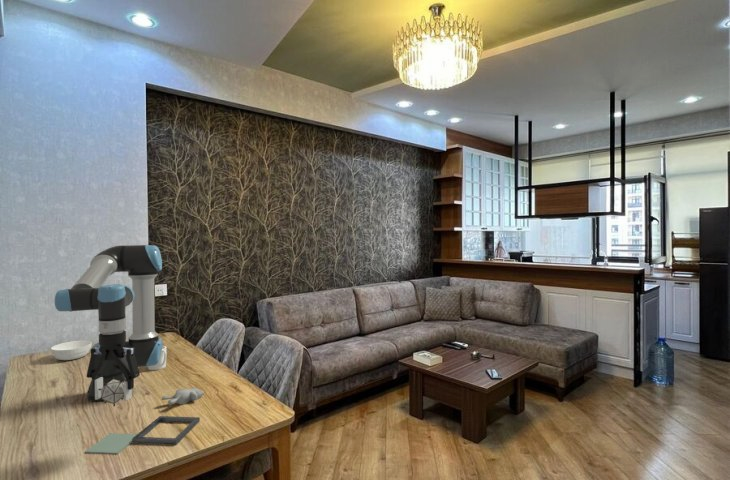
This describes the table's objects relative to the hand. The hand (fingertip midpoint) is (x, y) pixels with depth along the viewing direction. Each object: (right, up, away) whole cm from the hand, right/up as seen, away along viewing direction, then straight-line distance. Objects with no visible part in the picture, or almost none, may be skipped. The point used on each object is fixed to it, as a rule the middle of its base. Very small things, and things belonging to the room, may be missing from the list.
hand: (113, 398), depth 126 cm
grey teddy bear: (+9, -15, +31) cm, 36 cm away
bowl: (-80, -13, +85) cm, 118 cm away
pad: (0, -15, 0) cm, 15 cm away
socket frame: (+14, -15, +8) cm, 22 cm away
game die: (0, -2, 0) cm, 2 cm away
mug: (-23, -14, +69) cm, 75 cm away
